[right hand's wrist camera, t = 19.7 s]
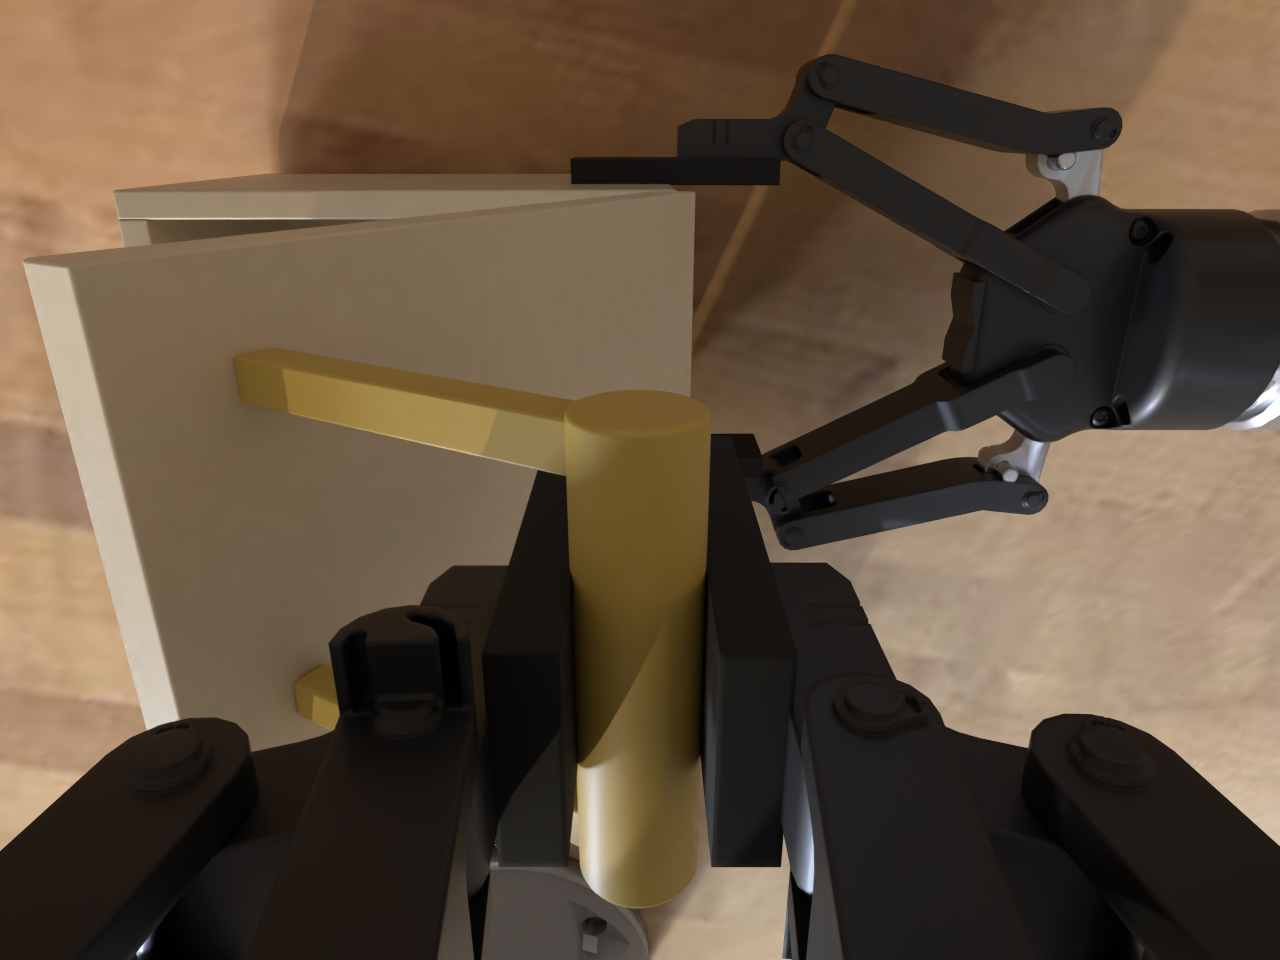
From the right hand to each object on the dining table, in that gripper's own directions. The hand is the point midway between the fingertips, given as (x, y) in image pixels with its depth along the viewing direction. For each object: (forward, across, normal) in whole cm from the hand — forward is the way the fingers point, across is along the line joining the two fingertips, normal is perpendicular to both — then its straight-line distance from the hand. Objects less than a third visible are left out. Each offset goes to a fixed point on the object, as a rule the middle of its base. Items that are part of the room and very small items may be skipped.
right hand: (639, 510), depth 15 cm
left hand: (+16, +2, 0) cm, 16 cm away
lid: (+4, +4, 0) cm, 6 cm away
